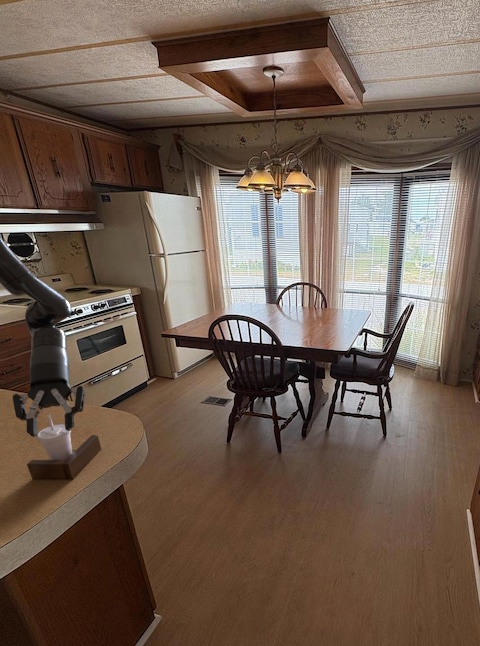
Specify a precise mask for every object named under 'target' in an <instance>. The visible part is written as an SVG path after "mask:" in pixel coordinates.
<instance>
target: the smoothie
mask: <svg viewBox="0 0 480 646" xmlns="http://www.w3.org/2000/svg"><path fill="white" fill-rule="evenodd" d="M51 416H52V415H51V414H50V413H47V414H46V417H47V420H48V423H49V426H47V427H45V428H43V429H41V430H40V431H38V432H37V436H36V437H37V440H38V442H40V443H41V444H42V447H43V449H44V450H45V452H46V453H47V455H48V457H49V459H51V460H66V459H67V458H68V457H69V456H70V455H71V454H72V450H73V449H72V448H73V447H72V446H73V445H72V440H71V434H72V433H71V432H72V430H71V431H67V430H66V429H65V423H63V424H62V423H61V424H54V423H53V420H52V417H51Z"/></svg>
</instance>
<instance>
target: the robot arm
mask: <svg viewBox="0 0 480 646" xmlns="http://www.w3.org/2000/svg"><path fill="white" fill-rule="evenodd" d="M0 285H1V286H2V287H3V288H4V289H5V290H6V291H7V292H8V293H9V294H11V295H12V296H14V297H22V296H25V295H26V296H28V297H29V298H31V299H33V300H34V301H33V302H32V303H30V304H29V305H28V306H27V307H26V309H25V312H24V320H25V324H26V326H27V329H28V332H29V334H30V337H31V342H30V343H31V345H30V347H31V348H30V349H31V350H30V353H31V354H30V358H29V390H28V392H27V393H22V394H18V393H14V394H13V395H12V402H13V407H14V413H15V417H16V419H19V420H20V421H26V433H27V434H28V435H30V436H31V437H32V438H35V437H37V434H38V421H37V420H38V417H39V416H40V414H41V413H43V411H44V409H49V408H52V407H62V409H63V410H64V411H65V413H64V424H65V429H66V430H67V431H71V432H72V429H74V428H75V416H76V414H77V413H81V412H83V411H84V408H85V407H84V406H85V398H86V390H85V388H84V387H83V386H82V385H78V386H77V387H71V384H70V361H69V355H68V354H69V353H68V345H67V344H68V342H67V341H68V340H67V339H68V338H67V334H66V332H65V330H63V329H62V328H59V327H57V325H58V324H59V323H61V322H62V321H64V320H66V319H67V318H68V317H70V315H71V314H72V306H71V304H70V302H69V300H68V299H67V298H66V296H64V295H63V294H61V292H60V291H58V290H56V289H54V288H53V287H52V286H50V285H48V284H47V283H46V282H45V281H43V280H41V279H40V278H39V277H37V276H36V275H35V274H34V273H33V272H32V270H31V269H30V268H28V266H27V265H26V264H25V263H24V262H23V261H22V260H21V259H20V258H19V257H18V256H17V255H16V254H15V253H14V252H13V250H12V249H11V248H10V246H8V245H7V243H6V242H5V241H4V240H3V239H2V237H1V236H0ZM72 394H73V396H74V397H75V399H74V406H71V405H70V404H69V402H68V401H67V399H68V398H69V397H70V396H71V395H72ZM29 399H30V400H31V401H32V403H31V405H30V406H29V410H28V412H27V411H26V405H25V404H27V403H28V400H29Z"/></svg>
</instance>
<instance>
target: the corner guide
mask: <svg viewBox="0 0 480 646" xmlns="http://www.w3.org/2000/svg"><path fill="white" fill-rule="evenodd" d="M101 450H102V446H101V443H100V438H99V435H98V434H91V435H90V436H89V437H88V438H87V439H86V440H85V441H84V442H83V443H82V444H81V445H80V446H78V448H76V449H72V454H71V455H70V456H69V457H68V458H67V459H66V460H51V459H50V458H49V459H31V460H30V461H29V462H27V463H26V466H27V469H28V471H29V474H30V477H31V479H32V481H33V480H34V481H40V480H42V481H43V480H48V481H51V480H52V481H53V480H65V481H67V480H68V481H69V480H70V481H71V480H72V481H73V480H74V479H76V478H77V476H78V475H80V473H81V472H82V471H83V470H84V468H85V467H86V466H88V464H89V463H90V462H91V461H92V460H93V459H94V458H95V457H96V456H97V455H98V454H99V452H100V451H101Z"/></svg>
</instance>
